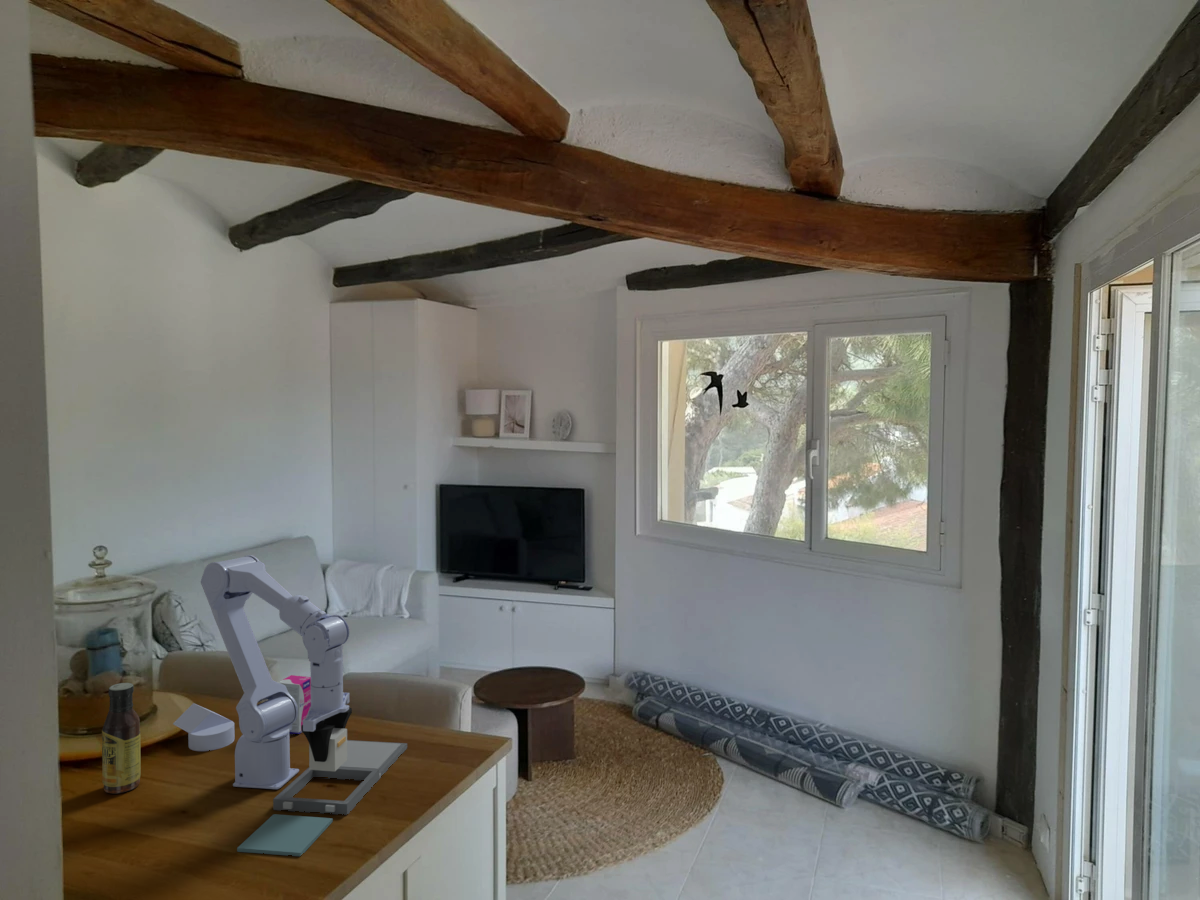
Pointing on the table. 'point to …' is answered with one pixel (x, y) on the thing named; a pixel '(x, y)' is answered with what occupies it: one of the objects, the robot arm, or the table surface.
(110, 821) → the table surface
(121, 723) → the sauce bottle
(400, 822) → the table surface
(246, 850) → the mat
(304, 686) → the supplement box
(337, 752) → the block
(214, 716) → the wedge on round base
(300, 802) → the case
